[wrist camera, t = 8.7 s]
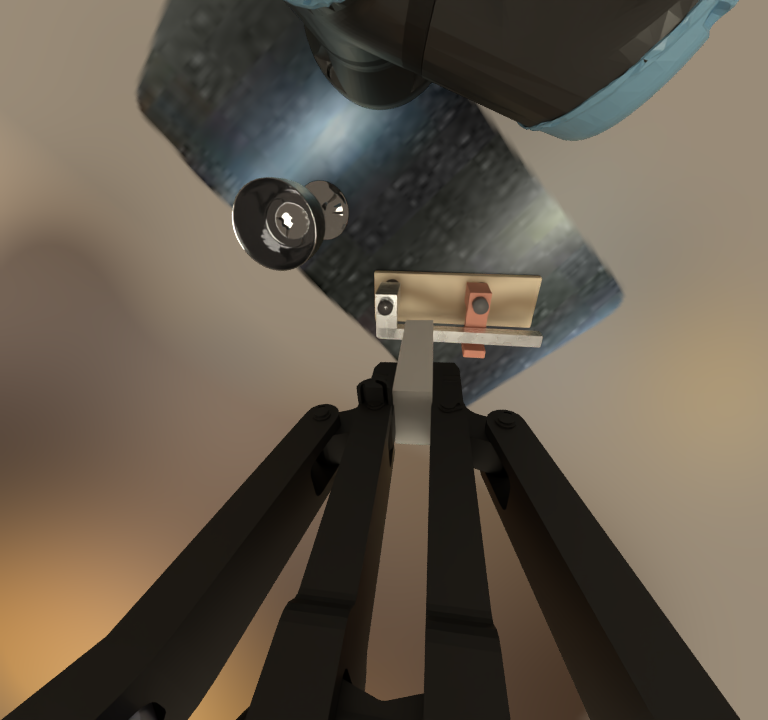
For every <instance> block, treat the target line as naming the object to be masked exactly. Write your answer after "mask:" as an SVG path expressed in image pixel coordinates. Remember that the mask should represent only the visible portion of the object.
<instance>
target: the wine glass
mask: <svg viewBox="0 0 768 720" xmlns="http://www.w3.org/2000/svg"><path fill="white" fill-rule="evenodd" d="M348 218H349V209H348V204H347V201H346V199H345V197H344V195H343V194H342V192H341V191H340V190H339V189H338V188H337V187H336V186H335V185H333V184H331V183H329V182H326V181H320V180H319V181H313V182H310V183H309V184H307V185H306V186H303V185H301V184H299V183H297V182H294V181H292V180H288V179H284V178H274V177H266V178H259V179H255V180H253V181H250V182H249V183H247V184H246V185H244V186H243V188H242V189H241V190H240V191H239V192H238V194H237V196H236V198H235V201H234V203H233V209H232V221H233V228H234V231H235V234H236V237H237V239H238V241H239V243H240V244H241V246H242V248H243V249H244V250H245V251H246V252H247V254H248V255H249V256H250V257H251V258H252V259H253V260H254V261H256V262H257V263H259V264H261V265H262V266H264V267H266V268H269V269H272V270H278V271H286V270H291V269H294V268H297V267H298V266H300V265H302V264H304V263H305V262H306V261H308V260H309V259H310V258H311V257H312V256H313V255H314V254H315V253H316V252H317V251H318V249H319V247H320V246H321V244H322V242H323V240H330V239H333V238H336V237H337V236H339V235H340V234H341V233H342V232H343V231H344V229H345V227H346V226H347V223H348Z"/></svg>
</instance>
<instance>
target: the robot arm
mask: <svg viewBox="0 0 768 720" xmlns="http://www.w3.org/2000/svg"><path fill="white" fill-rule="evenodd" d="M284 1H285V3H286V4H287V5H288V6H289V7H290V8H291V9H292V11H293V12H294V13H295V14H296V15H297V16H298V17H299V19H300V20H301V21H302V22H303V23H304V27H305V32H306V36H307V39H308V42H309V45H310V48H311V51H312V53H313V55H314V58H315V60H316V62H317V64H318V66H319V67H320V69H321V71H322V72H323V74H324V75H325V77H326V78H327V79H328V81H329V82H330V83H331V84H332V85H333V86H334V87H335V88H336V89H337V90H338V91H339V92H340V93H341V94H342V95H343V96H345V97H346V98H347V99H349V100H350V101H352V102H354V103H355V104H357V105H360V106H362V107H365V108H369V109H375V110H386V109H392V108H396V107H399V106H402V105H404V104H406V103H408V102H410V101H411V100H413V99H414V98H416V97H417V96H418V95H420V94H421V93H422V92H423V91H424V90H425V89H426V88H427V87H428V86H429V85H430V84H431V82H433V83H435V84H437V85H439V86H441V87H444V88H446V89H448V90H450V91H452V92H454V93H456V94H459V95H461V96H463V97H465V98H467V99H469V100H472V101H474V102H476V103H478V104H480V105H482V106H484V107H487V108H489V109H491V110H493V111H495V112H497V113H499V114H502V115H504V116H506V117H508V118H510V119H512V120H514V121H517V123H518V124H519V125H520V126H521V127H523V128H524V129H526V130H527V129H530V130H532V131H542V132H545V133H547V134H550V135H552V136H555V137H557V138H560V139H563V140H570V141H577V140H584V139H587V138H590V137H593V136H596V135H598V134H600V133H602V132H604V131H606V130H607V129H609V128H611V127H613V126H614V125H616V124H617V123H619V122H620V121H622V120H623V119H625V118H626V117H627V116H629V115H630V114H631V113H633V112H634V111H635V110H636V109H638V108H639V107H640V106H641V105H642V104H644V103H645V102H646V101H647V100H648V99H650V98H651V97H652V96H653V95H654V94H655V93H656V92H657V91H658V90H660V89H661V88H662V87H663V86H664V85H665V84H666V83H667V82H668V81H669V80H670V79H671V78H672V77H673V76H674V75H675V74H676V73H677V72H678V71H679V70H680V69H681V68H682V67H683V66H684V65H685V64H686V63H687V62H688V61H689V60H690V59H691V57H692V56H693V55H694V54H695V53H696V52H697V51H698V50H699V49H700V48H701V46H702V45H703V44H704V43H705V42H706V40H707V39H708V38H709V30H710V29H711V27H712V25H713V24H714V23H715V22H716V21H717V20H718V19H719V18H721V17H722V16H723V15H724V14H726V13H727V12H728V11H730V10H731V9H732V8H733V7H734V6H735V5H736V4H737V2H738V1H739V0H284ZM357 395H358V402H359V405H358V407H357V408H354V409H351V410H348V411H342V412H339V411H338V409H337V408H336V407H335V406H333V405H329V404H323V405H318V406H315V407H313V408H311V409H310V410H309V411H308V412H307V413H306V414H305V415H304V416H303V417H302V418H301V419H300V420H299V422H298V423H297V424H296V425H295V426H294V427H293V428H292V429H291V431H290V432H289V433H288V434H287V435H286V436H285V437H284V438H283V439H282V441H281V442H280V443H279V444H278V445H277V446H276V447H275V448H274V450H273V451H272V452H271V453H270V454H269V455H268V456H267V458H265V460H264V461H263V462H262V463H261V464H260V465H259V466H258V468H257V469H256V470H255V471H254V472H253V473H252V474H251V475H250V476H249V477H248V479H247V480H246V481H245V482H244V483H243V484H242V485H241V486H240V488H239V489H238V490H237V491H236V492H235V493H234V494H233V495H232V497H231V498H230V499H229V500H228V501H227V502H226V503H225V504H224V505H223V507H222V508H221V509H220V510H219V511H218V512H217V513H216V514H215V515H214V517H213V518H212V519H211V520H210V521H209V522H208V523H207V524H206V526H205V527H204V528H203V529H202V530H201V531H200V532H199V533H198V535H197V536H196V537H195V538H194V539H193V540H192V541H191V543H189V545H188V546H187V547H186V548H185V549H184V550H183V551H182V552H181V553H180V555H179V556H178V557H177V558H176V559H175V560H174V561H173V562H172V564H171V565H170V566H169V567H168V568H167V569H166V570H165V572H164V573H163V574H162V575H161V576H160V577H159V578H158V579H157V580H156V581H155V583H154V584H153V585H152V586H151V587H150V588H149V589H148V590H147V592H146V593H145V594H144V595H143V596H142V597H141V598H140V599H139V601H138V602H137V603H136V604H135V605H134V606H133V607H132V608H131V609H130V610H129V612H128V613H127V614H126V615H125V616H124V617H123V618H122V620H121V621H120V622H119V623H118V624H117V625H116V626H115V627H114V628H113V629H112V631H111V632H110V633H109V634H108V635H107V636H106V637H105V638H104V639H102V640H101V641H100V642H99V643H97V644H96V645H95V646H94V647H92V648H91V649H90V650H89V651H87V652H86V653H85V654H83V655H82V656H81V657H80V658H78V659H77V660H76V661H75V662H73V663H72V664H71V665H70V666H68V667H67V668H66V669H65V670H63V671H62V672H61V673H60V674H58V675H57V676H56V677H55V678H53V679H52V680H51V681H49V682H48V683H47V684H46V685H45V686H43V687H42V688H41V689H39V691H37V692H36V693H34V694H33V695H32V696H31V697H29V698H28V699H27V700H26V701H24V702H23V703H22V704H21V705H19V706H18V707H17V708H16V709H15V710H13V711H12V712H11V713H9V714H8V715H7V716H5V717H4V718H3V719H2V720H188V718H189V717H190V716H191V714H192V713H193V712H194V710H195V709H196V708H197V707H198V705H199V704H200V702H201V701H202V699H203V698H204V696H205V695H206V693H207V691H208V690H209V689H210V687H211V686H212V684H213V683H214V681H215V680H216V678H217V676H218V675H219V673H220V671H221V670H222V668H223V666H224V665H225V663H226V662H227V660H228V658H229V657H230V655H231V653H232V652H233V650H234V648H235V647H236V645H237V644H238V642H239V640H240V639H241V637H242V635H243V634H244V632H245V630H246V629H247V627H248V625H249V624H250V622H251V621H252V619H253V617H254V616H255V614H256V612H257V611H258V609H259V607H260V606H261V604H262V603H263V601H264V599H265V598H266V596H267V594H268V593H269V591H270V589H271V588H272V586H273V584H274V583H275V581H276V580H277V578H278V576H279V575H280V573H281V571H282V569H283V568H284V566H285V565H286V563H287V561H288V560H289V558H290V556H291V555H292V553H293V552H294V550H295V548H296V547H297V545H298V543H299V542H300V540H301V538H302V537H303V535H304V534H305V532H306V530H307V529H308V527H309V525H310V524H311V522H312V521H313V519H314V517H315V516H316V514H317V512H318V511H319V509H320V507H321V506H322V504H323V502H324V501H325V499H326V498H327V496H328V494H329V493H330V495H329V498H328V501H327V505H326V508H325V511H324V514H323V517H322V520H321V523H320V526H319V529H318V533H317V536H316V539H315V542H314V545H313V548H312V551H311V555H310V558H309V561H308V564H307V567H306V570H305V573H304V576H303V579H302V582H301V586H300V589H299V591H298V594H297V595H296V597H295V598H294V599H292V600H291V601H289V602H288V604H287V605H286V607H285V608H284V610H283V613H282V615H281V618H280V620H279V623H278V625H277V628H276V631H275V634H274V637H273V640H272V643H271V646H270V649H269V652H268V655H267V658H266V660H265V664H264V666H263V670H262V672H261V675H260V678H259V681H258V684H257V687H256V690H255V692H254V695H253V698H252V701H251V704H250V706H249V707H248V708H247V709H246V710H245V711H244V712H243V713H242V714H241V715H240V716H239V717H238V718H237V719H236V720H510V713H509V705H508V698H507V691H506V684H505V676H504V668H503V662H502V654H501V647H500V641H499V636H498V632H497V629H496V627H495V626H494V624H493V620H492V614H491V606H490V597H489V589H488V582H487V573H486V565H485V557H484V549H483V541H482V533H481V524H480V516H479V508H478V500H477V492H476V484H475V476H474V468H475V469H478V470H480V472H481V476H482V478H483V480H484V483H485V485H486V487H487V489H488V492H489V494H490V496H491V498H492V501H493V503H494V505H495V507H496V509H497V512H498V514H499V516H500V518H501V521H502V523H503V525H504V527H505V530H506V532H507V534H508V536H509V539H510V541H511V543H512V545H513V547H514V550H515V552H516V554H517V556H518V558H519V561H520V563H521V566H522V568H523V570H524V572H525V574H526V576H527V579H528V581H529V583H530V586H531V588H532V590H533V592H534V595H535V597H536V599H537V601H538V603H539V606H540V608H541V610H542V613H543V615H544V617H545V619H546V622H547V624H548V626H549V628H550V630H551V633H552V635H553V637H554V639H555V642H556V644H557V646H558V648H559V651H560V653H561V655H562V657H563V660H564V662H565V664H566V666H567V669H568V671H569V673H570V675H571V678H572V680H573V682H574V684H575V686H576V689H577V691H578V693H579V695H580V698H581V700H582V702H583V704H584V707H585V709H586V711H587V713H588V716H589V718H590V720H740V718H739V717H738V716H737V715H736V713H735V711H734V710H733V709H732V707H731V706H730V704H729V703H728V702H727V700H726V699H725V697H724V696H723V695H722V693H721V692H720V691H719V689H718V688H717V686H716V685H715V684H714V682H713V681H712V680H711V678H710V677H709V676H708V674H707V673H706V671H705V670H704V668H703V667H702V666H701V664H700V663H699V661H698V660H697V659H696V657H695V656H694V655H693V653H692V652H691V650H690V649H689V648H688V646H687V645H686V643H685V642H684V641H683V639H682V638H681V637H680V635H679V634H678V632H677V631H676V630H675V628H674V627H673V625H672V624H671V623H670V621H669V620H668V619H667V617H666V616H665V614H664V613H663V612H662V610H661V609H660V607H659V606H658V605H657V603H656V602H655V600H654V599H653V598H652V596H651V595H650V594H649V592H648V591H647V590H646V588H645V587H644V585H643V584H642V582H641V581H640V580H639V578H638V577H637V576H636V574H635V573H634V571H633V570H632V569H631V567H630V566H629V564H628V563H627V562H626V560H625V559H624V558H623V556H622V555H621V553H620V552H619V551H618V549H617V548H616V547H615V545H614V544H613V543H612V541H611V540H610V538H609V537H608V536H607V534H606V533H605V531H604V530H603V528H602V527H601V526H600V524H599V523H598V522H597V520H596V519H595V517H594V516H593V515H592V513H591V512H590V510H589V509H588V508H587V506H586V505H585V504H584V502H583V501H582V499H581V498H580V497H579V495H578V494H577V492H576V491H575V490H574V488H573V487H572V486H571V484H570V483H569V481H568V480H567V479H566V477H565V476H564V474H563V473H562V472H561V470H560V469H559V468H558V466H557V465H556V463H555V462H554V461H553V459H552V458H551V456H550V455H549V454H548V452H547V451H546V450H545V448H544V447H543V445H542V444H541V443H540V442H539V440H538V438H537V437H536V436H535V434H534V433H533V432H532V430H531V429H530V427H529V426H528V425H527V423H526V422H525V420H524V419H523V418H522V417H521V416H520V415H518V414H516V413H514V412H512V411H508V410H496V411H492V412H491V413H489V414H488V416H487V417H486V416H482V415H479V414H476V413H474V412H472V411H470V410H469V409H468V408H466V406H465V404H464V402H463V396H462V387H461V379H460V371H459V368H458V367H457V365H456V364H455V363H440V362H433V320H406V322H405V327H404V333H403V338H402V343H401V348H400V353H399V358H398V363H393V362H380V363H379V364H378V365H377V366H376V367H375V368H374V371H373V375H372V378H370V379H367V380H364V381H362V382H361V383H359V384H358V386H357ZM394 441H396V443H401V444H420V445H430V471H429V474H430V475H429V512H428V556H427V598H426V631H425V673H424V677H425V678H424V694H418V695H413V696H408V697H403V698H398V699H393V700H389V701H381V700H378V699H376V698H375V697H373V696H371V695H369V694H368V693H366V692H365V683H366V664H367V649H368V641H369V633H370V626H371V619H372V612H373V605H374V598H375V591H376V583H377V576H378V569H379V562H380V555H381V548H382V540H383V533H384V525H385V519H386V512H387V504H388V497H389V490H390V483H391V476H392V469H393V461H394V454H395V450H394ZM330 491H331V492H330Z"/></svg>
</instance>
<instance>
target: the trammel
mask: <svg viewBox="0 0 768 720" xmlns="http://www.w3.org/2000/svg"><path fill="white" fill-rule="evenodd" d="M400 294H401V283H400V282H381V284H380V286H379V288H378V290H377V292H376V294H375V305H376V332H377V337H379V338H382V339H399V340H402V338H403V333H404V327H405V324H398V308H399V304H400ZM542 338H543V336H542V334H541V333H540V331H526V330H506V329H487V328H467V327H447V326H433V341H435V342H453V343H471V344H488V345H506V346H524V347H540V346H541V342H542Z"/></svg>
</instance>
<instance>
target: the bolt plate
mask: <svg viewBox="0 0 768 720" xmlns="http://www.w3.org/2000/svg"><path fill="white" fill-rule="evenodd" d="M374 275H375V294H376V292H377V290H378V288H379V286H380V284H381V282H400V283H401V294H400V304H399V308H398V321H406V320H433V323H446V324H464V323H465V315H466V305H465V301H464V300H465V292H466V285H467V282H474V283H487V284H488V286H489V288H490V290H491V292H492V298H491V304H490V310H489V314H488V318H487V323H486V326H506V327H526V328H530V325H531V321H532V317H533V313H534V309H535V305H536V301H537V297H538V293H539V289H540V285H541V280H542V278H541V277H540V276H533V275H501V274H470V273H438V272H407V271H375V273H374ZM375 320H376V305H375Z"/></svg>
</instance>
